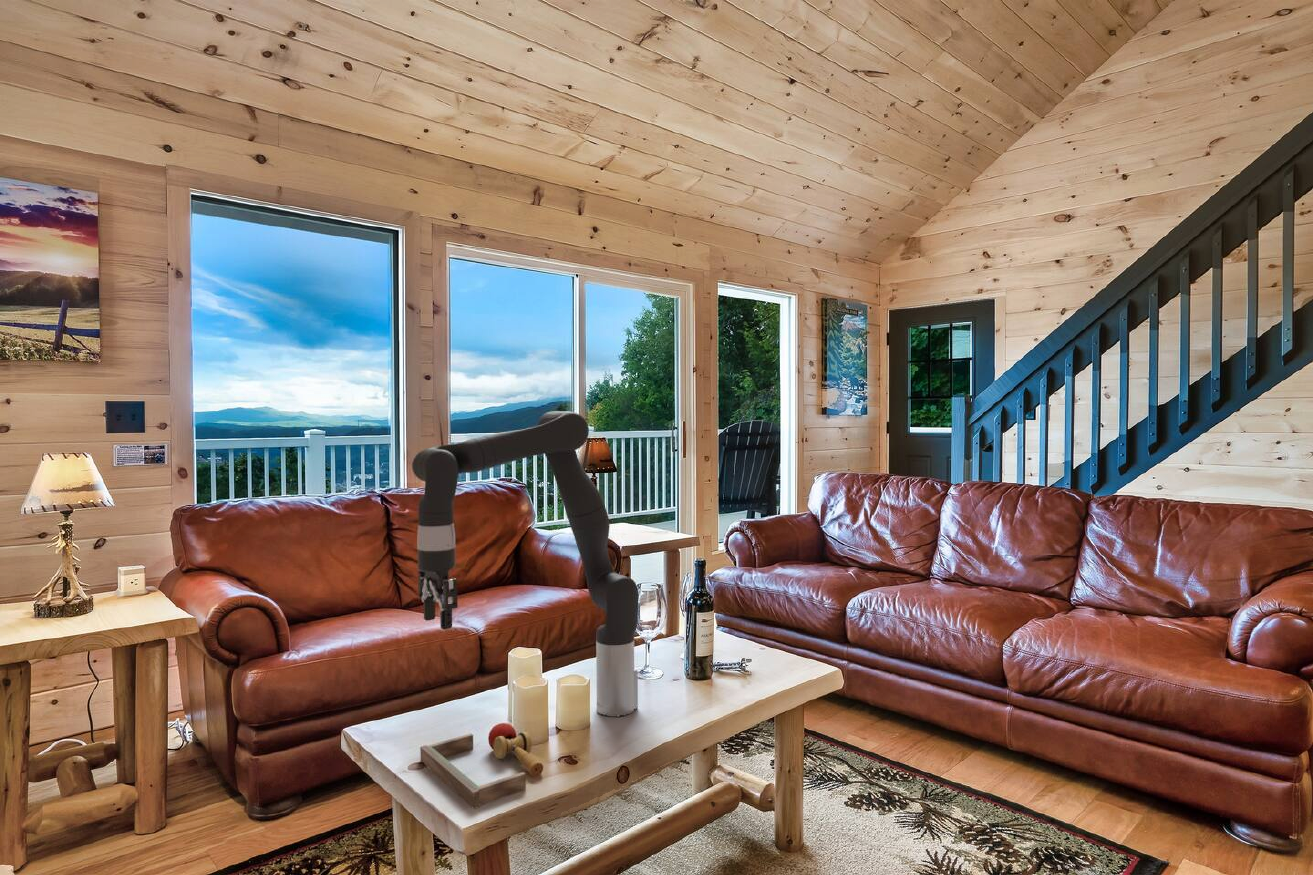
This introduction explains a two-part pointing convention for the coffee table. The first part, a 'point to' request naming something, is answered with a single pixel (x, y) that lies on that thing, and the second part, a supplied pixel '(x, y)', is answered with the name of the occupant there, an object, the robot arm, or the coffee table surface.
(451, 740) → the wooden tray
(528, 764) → the kendama
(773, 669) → the coffee table surface
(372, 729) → the coffee table surface
